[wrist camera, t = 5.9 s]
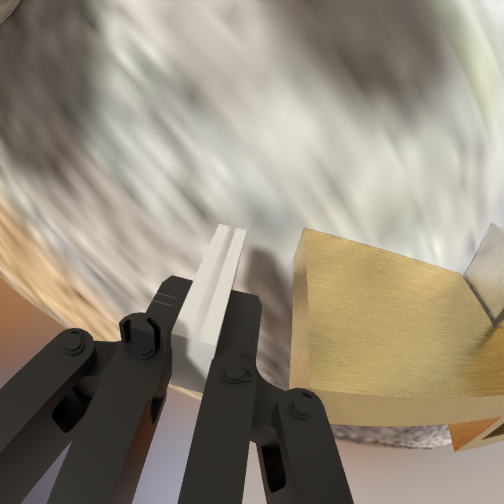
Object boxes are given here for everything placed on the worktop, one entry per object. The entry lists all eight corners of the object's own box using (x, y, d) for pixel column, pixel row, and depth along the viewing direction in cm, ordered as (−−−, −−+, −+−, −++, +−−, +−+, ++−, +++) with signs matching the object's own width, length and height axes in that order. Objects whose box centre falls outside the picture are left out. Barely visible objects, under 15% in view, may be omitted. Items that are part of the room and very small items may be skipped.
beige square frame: (326, 155, 13) (382, 265, 5) (554, 259, 13) (613, 337, 5) (275, 310, 18) (258, 454, 10) (495, 349, 18) (528, 431, 10)
